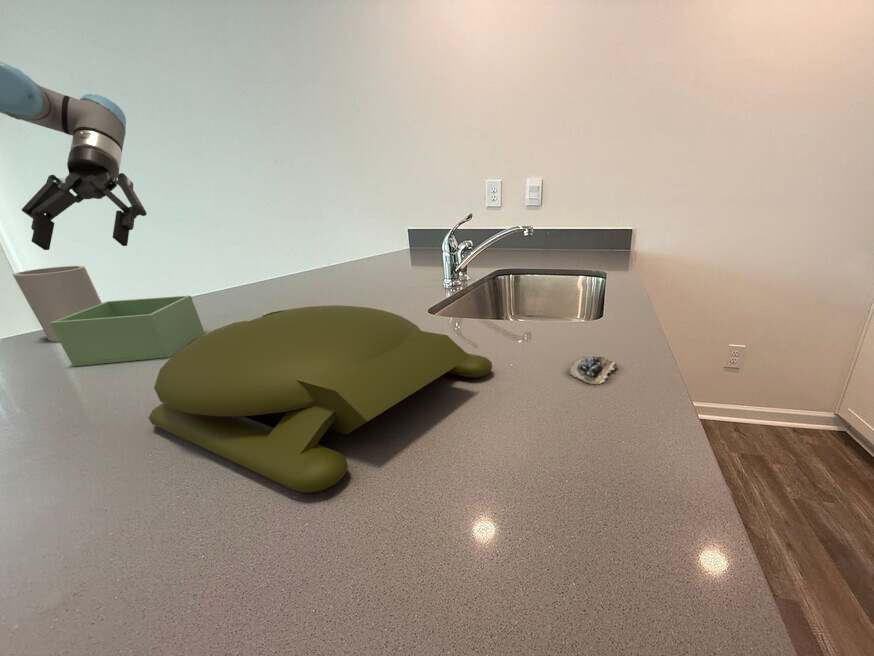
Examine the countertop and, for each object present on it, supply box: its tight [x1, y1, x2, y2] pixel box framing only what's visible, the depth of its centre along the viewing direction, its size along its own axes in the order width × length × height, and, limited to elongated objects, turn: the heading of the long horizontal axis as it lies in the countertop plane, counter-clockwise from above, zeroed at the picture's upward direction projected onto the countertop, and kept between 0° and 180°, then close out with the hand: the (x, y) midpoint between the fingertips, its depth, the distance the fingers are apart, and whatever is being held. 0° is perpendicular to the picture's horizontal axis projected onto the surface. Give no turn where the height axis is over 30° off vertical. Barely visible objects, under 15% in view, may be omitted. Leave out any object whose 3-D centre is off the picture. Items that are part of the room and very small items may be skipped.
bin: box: [50, 295, 205, 367], centre depth 69 cm, size 13×13×7 cm
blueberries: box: [569, 355, 618, 385], centre depth 56 cm, size 7×8×2 cm
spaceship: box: [148, 304, 493, 494], centre depth 51 cm, size 35×31×10 cm
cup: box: [12, 265, 103, 343], centre depth 76 cm, size 9×9×12 cm
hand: (80, 243), depth 81 cm, fingers open, 13 cm apart
